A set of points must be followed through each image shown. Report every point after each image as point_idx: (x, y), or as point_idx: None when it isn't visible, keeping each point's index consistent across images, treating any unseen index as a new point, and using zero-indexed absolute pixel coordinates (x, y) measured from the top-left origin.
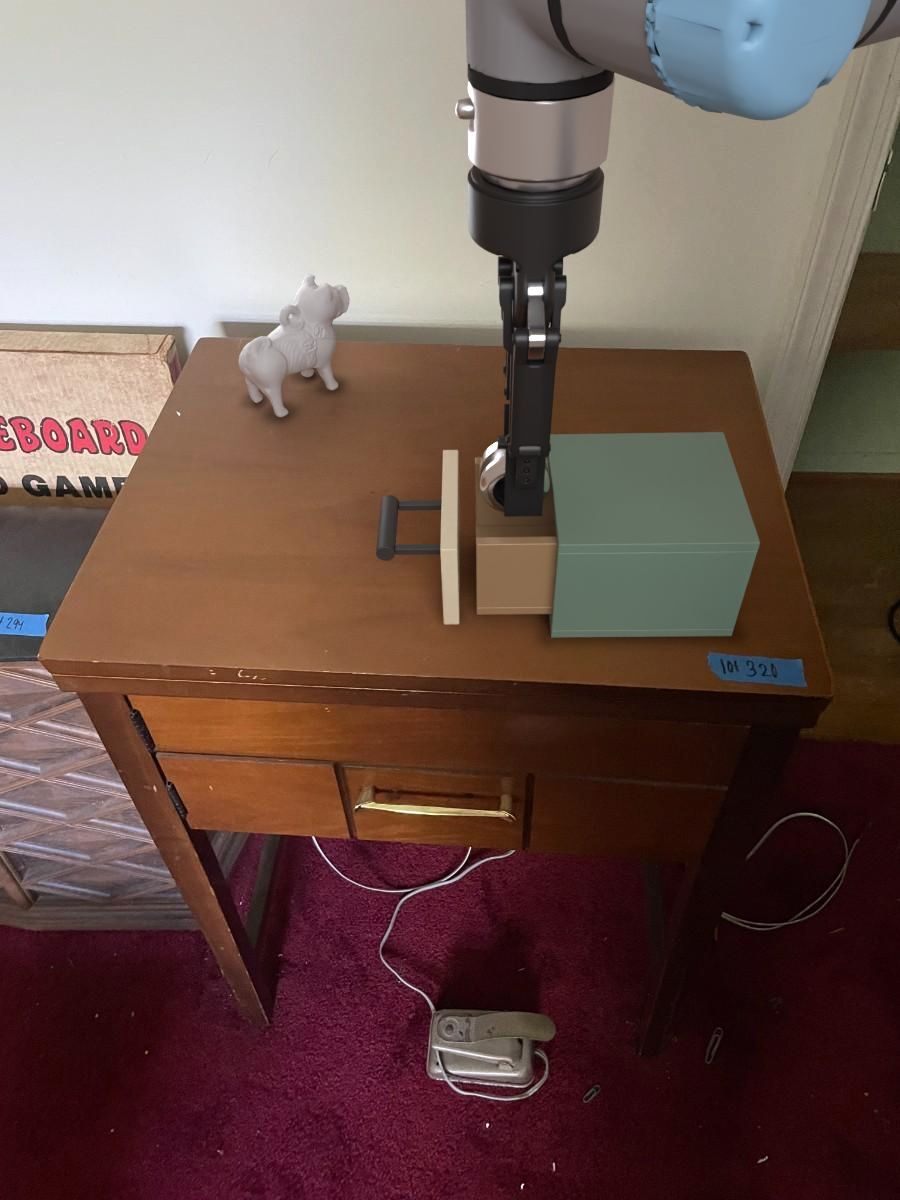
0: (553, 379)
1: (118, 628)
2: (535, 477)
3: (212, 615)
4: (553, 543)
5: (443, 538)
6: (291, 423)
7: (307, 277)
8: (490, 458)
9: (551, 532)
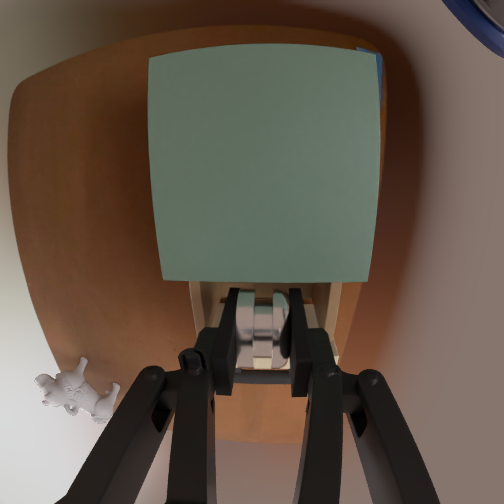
0: (433, 488)
1: (294, 432)
2: (329, 341)
3: (289, 410)
4: None
5: None
6: (122, 382)
7: (46, 405)
8: (254, 363)
9: None
